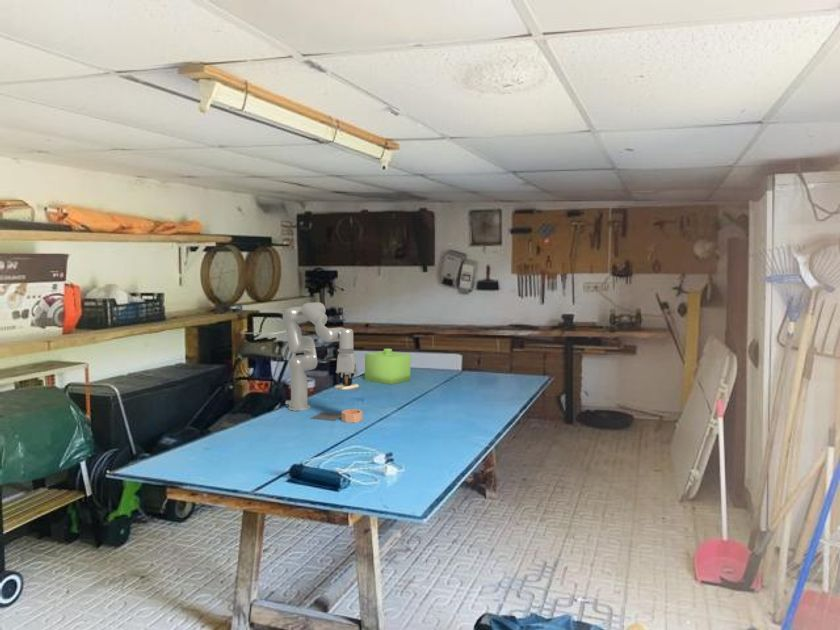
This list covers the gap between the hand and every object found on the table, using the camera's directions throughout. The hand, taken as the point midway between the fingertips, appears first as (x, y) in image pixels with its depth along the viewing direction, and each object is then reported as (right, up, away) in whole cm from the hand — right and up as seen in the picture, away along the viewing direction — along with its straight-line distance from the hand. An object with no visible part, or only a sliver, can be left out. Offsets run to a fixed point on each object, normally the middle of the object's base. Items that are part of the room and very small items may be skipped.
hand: (347, 384), depth 359 cm
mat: (-11, -19, +7) cm, 24 cm away
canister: (+16, -10, +116) cm, 118 cm away
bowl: (+3, -20, +1) cm, 20 cm away
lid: (0, -2, 0) cm, 2 cm away
